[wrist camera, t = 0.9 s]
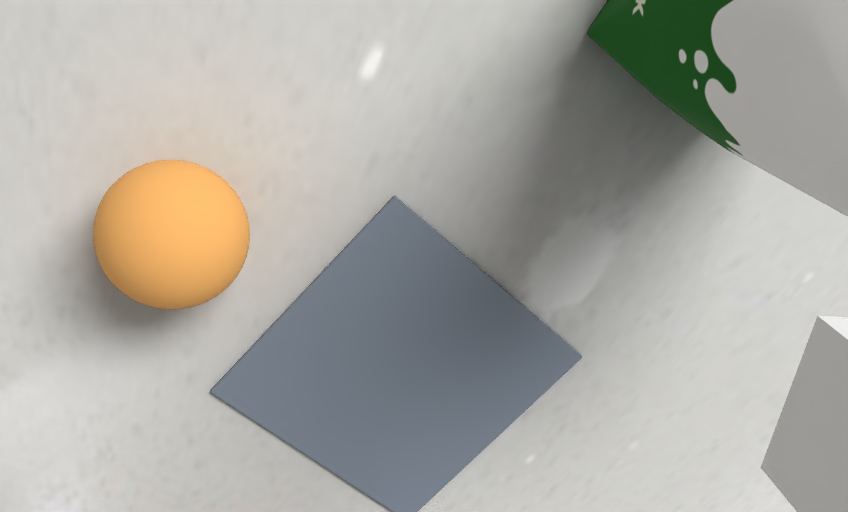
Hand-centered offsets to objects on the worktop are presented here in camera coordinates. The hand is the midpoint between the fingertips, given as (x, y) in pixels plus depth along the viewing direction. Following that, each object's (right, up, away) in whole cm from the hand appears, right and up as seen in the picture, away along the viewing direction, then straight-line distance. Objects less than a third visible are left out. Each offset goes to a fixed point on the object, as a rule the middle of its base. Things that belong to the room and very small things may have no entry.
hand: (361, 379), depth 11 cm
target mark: (0, -4, +26) cm, 26 cm away
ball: (-8, +2, +19) cm, 21 cm away
